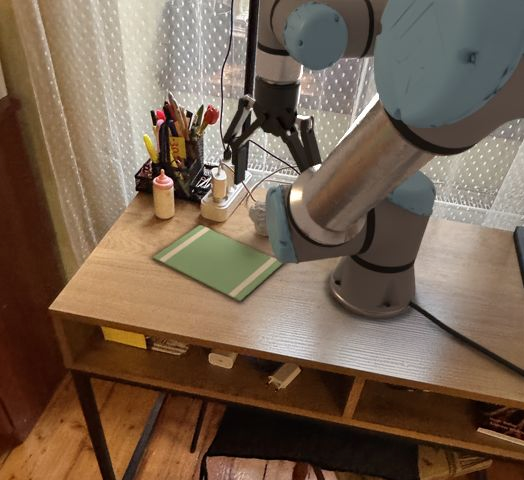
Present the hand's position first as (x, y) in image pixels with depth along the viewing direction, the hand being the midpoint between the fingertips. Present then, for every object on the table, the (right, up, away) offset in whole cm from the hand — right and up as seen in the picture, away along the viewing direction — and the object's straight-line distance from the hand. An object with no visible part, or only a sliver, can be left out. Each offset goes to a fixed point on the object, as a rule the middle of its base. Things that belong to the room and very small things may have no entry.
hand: (268, 194), depth 103 cm
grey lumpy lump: (-1, -6, +6) cm, 9 cm away
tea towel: (-9, -13, -1) cm, 16 cm away
